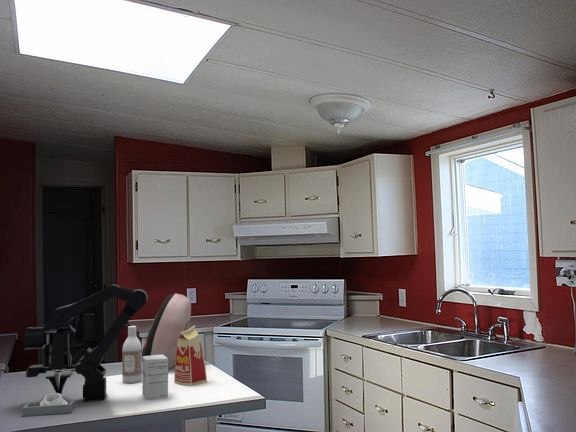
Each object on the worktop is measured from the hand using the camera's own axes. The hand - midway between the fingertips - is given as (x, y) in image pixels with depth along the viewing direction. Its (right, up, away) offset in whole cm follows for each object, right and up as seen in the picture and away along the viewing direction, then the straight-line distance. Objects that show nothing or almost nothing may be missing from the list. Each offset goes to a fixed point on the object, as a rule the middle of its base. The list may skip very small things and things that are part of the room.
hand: (59, 396), depth 175 cm
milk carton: (+38, -2, +22) cm, 44 cm away
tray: (+2, -1, -12) cm, 12 cm away
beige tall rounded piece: (+24, -4, +49) cm, 55 cm away
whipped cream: (+1, -1, -7) cm, 8 cm away
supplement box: (+30, -1, +4) cm, 30 cm away
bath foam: (+16, -3, +25) cm, 30 cm away
